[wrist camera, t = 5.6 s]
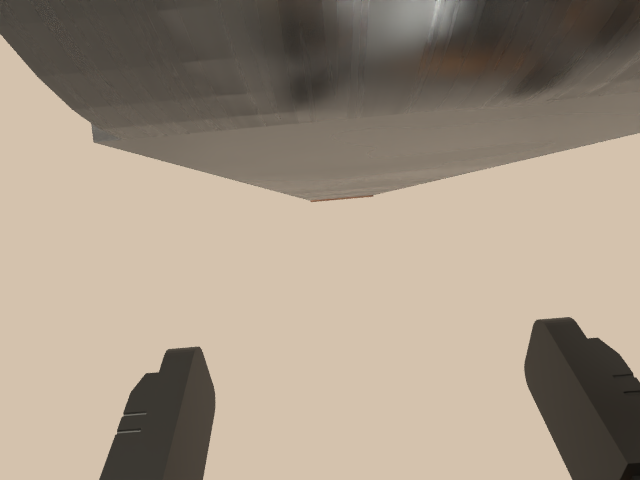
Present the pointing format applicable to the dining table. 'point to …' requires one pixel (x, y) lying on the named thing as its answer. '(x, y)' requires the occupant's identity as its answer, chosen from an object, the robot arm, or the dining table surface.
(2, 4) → the lever
